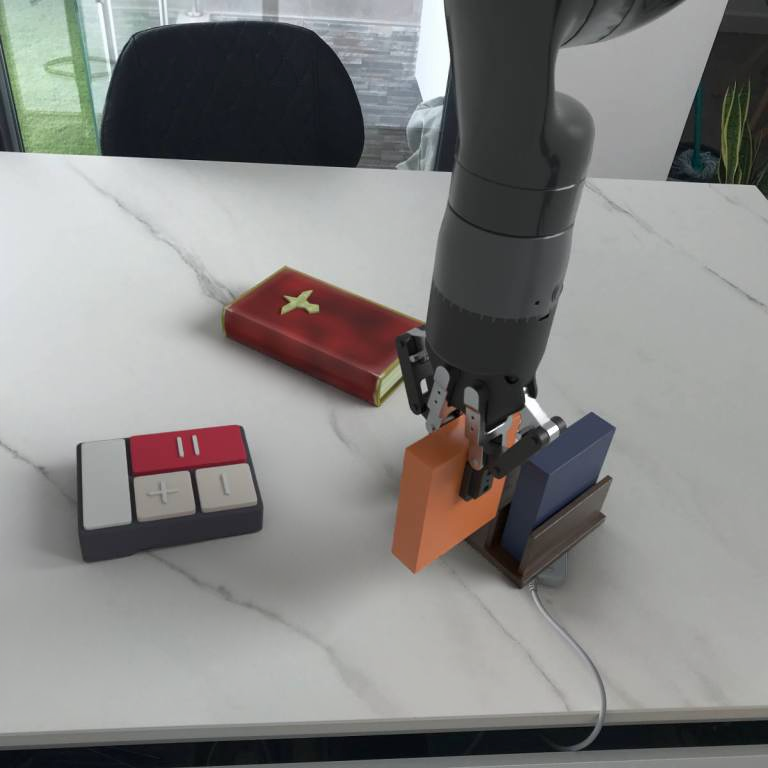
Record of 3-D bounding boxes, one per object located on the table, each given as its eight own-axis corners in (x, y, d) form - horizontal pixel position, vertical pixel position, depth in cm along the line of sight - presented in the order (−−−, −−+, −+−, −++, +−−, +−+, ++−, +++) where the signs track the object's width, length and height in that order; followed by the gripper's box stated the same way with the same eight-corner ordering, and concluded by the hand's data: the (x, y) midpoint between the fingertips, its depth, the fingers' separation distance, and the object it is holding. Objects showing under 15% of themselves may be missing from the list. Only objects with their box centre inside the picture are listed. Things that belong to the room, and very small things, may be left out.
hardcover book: (376, 409, 82) (379, 378, 79) (222, 337, 90) (220, 307, 87) (430, 353, 90) (435, 324, 88) (285, 292, 98) (285, 263, 95)
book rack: (604, 521, 72) (621, 479, 69) (521, 589, 66) (535, 545, 62) (500, 444, 79) (511, 401, 76) (416, 498, 73) (423, 454, 69)
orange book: (495, 516, 62) (522, 414, 55) (414, 574, 57) (432, 470, 50) (472, 497, 63) (495, 395, 56) (390, 552, 58) (405, 447, 51)
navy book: (584, 514, 72) (616, 427, 65) (521, 563, 67) (549, 475, 60) (562, 498, 73) (591, 411, 66) (499, 544, 68) (523, 456, 61)
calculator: (264, 502, 66) (76, 529, 61) (263, 535, 69) (82, 564, 64) (243, 418, 74) (74, 436, 69) (242, 450, 77) (80, 470, 72)
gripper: (370, 245, 47) (354, 449, 58) (550, 360, 39) (492, 569, 50) (456, 213, 51) (426, 409, 62) (633, 312, 44) (563, 515, 55)
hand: (456, 480), depth 56 cm, fingers closed on orange book, 2 cm apart
